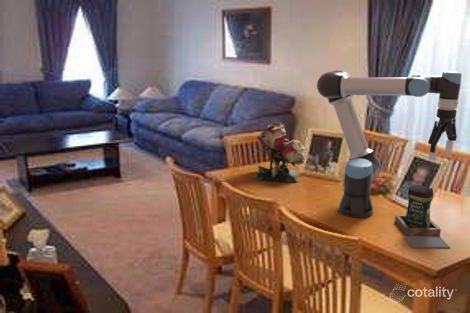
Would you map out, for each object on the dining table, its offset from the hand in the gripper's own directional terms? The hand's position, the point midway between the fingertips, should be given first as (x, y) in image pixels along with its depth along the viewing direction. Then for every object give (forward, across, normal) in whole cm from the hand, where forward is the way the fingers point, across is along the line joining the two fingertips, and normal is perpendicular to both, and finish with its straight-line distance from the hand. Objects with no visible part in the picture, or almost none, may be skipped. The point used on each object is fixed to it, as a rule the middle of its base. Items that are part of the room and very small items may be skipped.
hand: (440, 157), depth 217 cm
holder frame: (+27, -20, -4) cm, 34 cm away
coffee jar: (+27, -20, -4) cm, 34 cm away
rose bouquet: (+29, -9, +86) cm, 91 cm away
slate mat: (+27, -30, -14) cm, 42 cm away
